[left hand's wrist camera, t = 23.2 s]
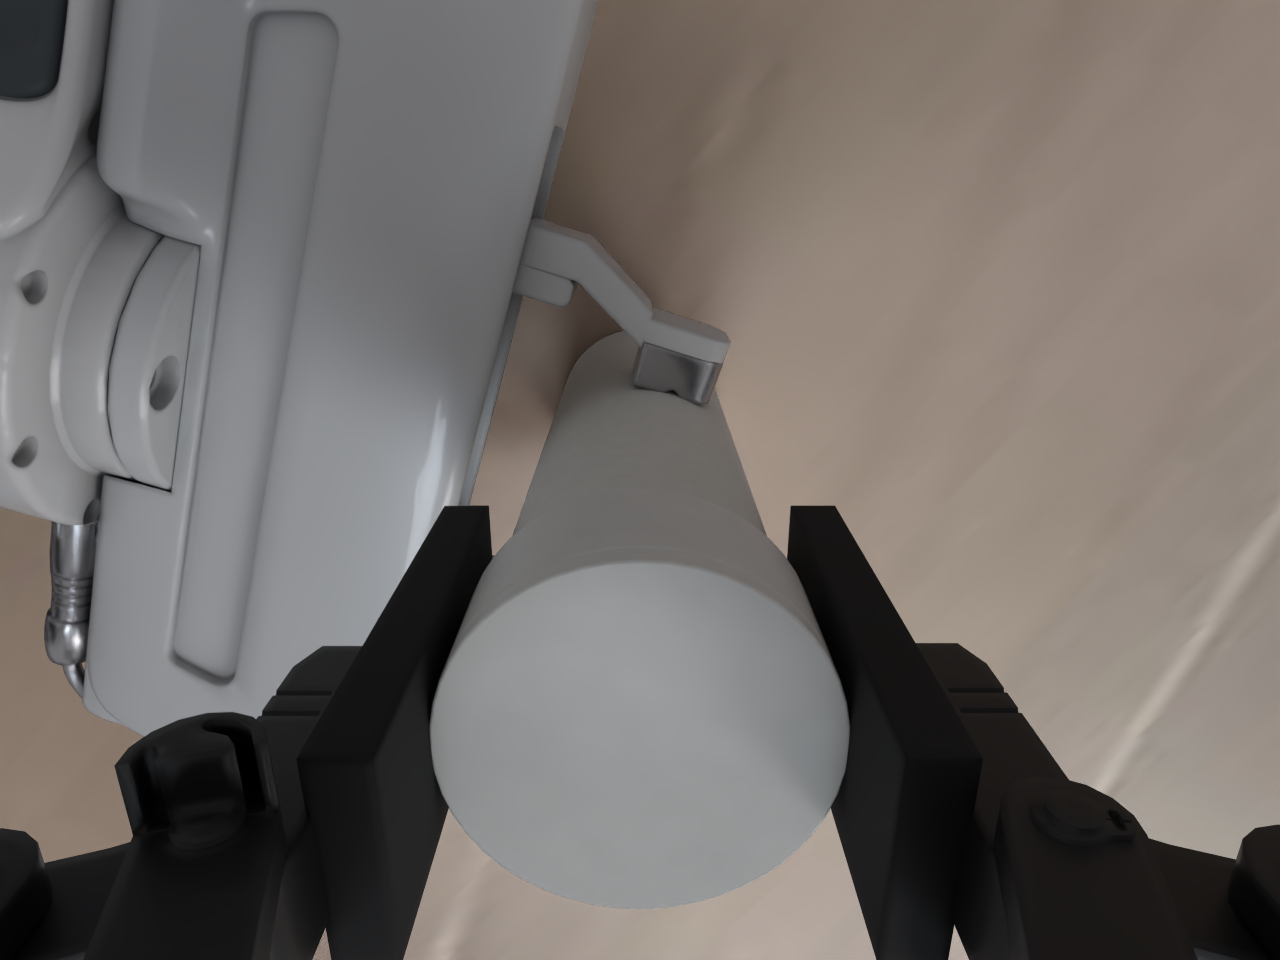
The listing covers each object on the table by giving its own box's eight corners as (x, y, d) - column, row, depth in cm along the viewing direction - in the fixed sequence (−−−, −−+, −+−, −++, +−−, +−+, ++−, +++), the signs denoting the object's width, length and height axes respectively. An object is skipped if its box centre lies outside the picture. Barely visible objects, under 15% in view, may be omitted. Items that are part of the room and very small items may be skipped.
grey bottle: (742, 371, 25) (883, 640, 11) (672, 499, 27) (711, 890, 12) (604, 301, 24) (552, 488, 10) (539, 437, 26) (410, 773, 11)
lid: (801, 788, 13) (833, 911, 11) (478, 789, 13) (446, 911, 11) (826, 486, 12) (870, 560, 9) (452, 486, 12) (408, 560, 9)
